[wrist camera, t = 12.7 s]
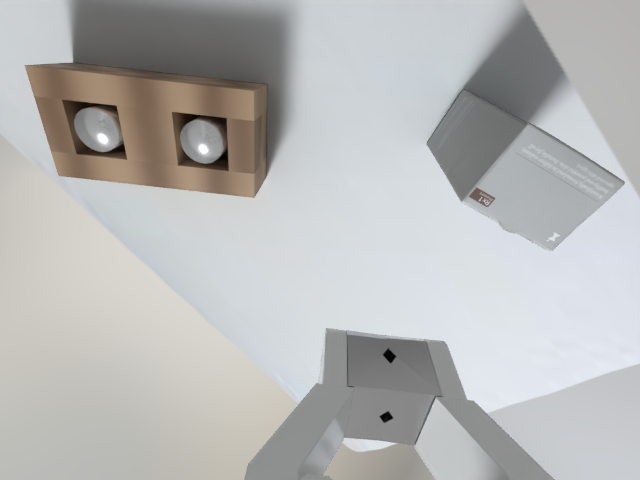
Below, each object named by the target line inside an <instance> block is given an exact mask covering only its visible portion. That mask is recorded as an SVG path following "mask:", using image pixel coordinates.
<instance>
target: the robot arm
mask: <svg viewBox="0 0 640 480" xmlns="http://www.w3.org/2000/svg"><path fill="white" fill-rule="evenodd" d="M344 438H356V439H369V440H380V441H387V442H394V443H401V444H408V445H415V449H416V450H417V452H418V453H419V455H420V457H421V458H422V459H423V461H424V463H425V464H426V466H427V467H428V469H429V470H430V472H431V474H432V475H433V477H434V478H435V480H554V479H553V478H552V477H551V476H550V475H549V474H548V473H547V472H546V471H545V470H544V469H543V468H542V467H541V466H540V465H539V464H538V463H537V462H536V461H534V459H533V458H532V457H531V456H530V455H529V454H528V453H527V452H526V451H525V450H524V449H522V448H521V447H520V446H519V445H518V444H517V443H516V442H515V441H514V440H513V439H512V438H511V437H510V436H509V435H508V434H507V433H506V432H505V431H504V430H503V429H502V428H501V427H500V426H499V425H498V424H497V423H496V422H495V421H494V420H493V419H492V418H491V417H490V416H489V415H488V414H487V413H486V412H485V411H484V410H483V409H482V408H481V407H480V406H479V405H478V404H476V403H475V402H474V401H471V400H467V398H466V395H465V392H464V390H463V387H462V384H461V381H460V379H459V376H458V373H457V370H456V368H455V365H454V362H453V359H452V357H451V354H450V351H449V348H448V346H447V344H446V343H445V342H444V341H437V340H427V339H424V340H423V339H416V338H406V337H396V336H387V335H377V334H369V333H362V332H355V331H347V330H346V331H344V330H337V329H330V328H326V330H325V337H324V344H323V350H322V357H321V365H320V374H319V383H316V385H315V386H314V387H313V388H312V389H311V390H310V392H309V393H308V394H307V395H306V396H305V398H304V399H303V400H302V401H301V402H300V404H299V405H298V406H297V407H296V408H295V409H294V411H293V412H292V413H291V414H290V415H289V417H288V418H287V419H286V420H285V421H284V422H283V424H282V425H281V426H280V427H279V428H278V430H277V431H276V432H275V433H274V434H273V436H272V437H271V438H270V439H269V440H268V441H267V443H266V444H265V445H264V446H263V447H262V449H261V450H260V451H259V452H258V453H257V455H256V456H255V457H254V458H253V459H252V461H251V462H250V463H249V464H248V467H247V471H246V475H245V480H332V479H331V478H330V477H329V476H323V474H324V472H325V470H326V469H327V467H328V465H329V464H330V462H331V460H332V458H333V457H334V455H335V453H336V452H337V450H338V448H339V446H340V444H341V443H342V441H343V439H344Z"/></svg>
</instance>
